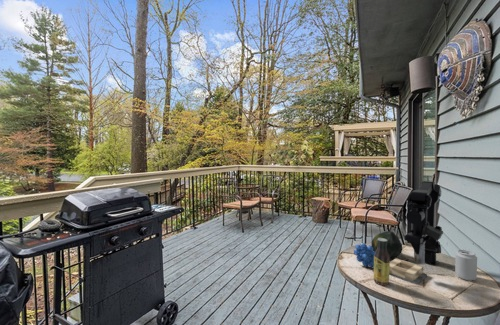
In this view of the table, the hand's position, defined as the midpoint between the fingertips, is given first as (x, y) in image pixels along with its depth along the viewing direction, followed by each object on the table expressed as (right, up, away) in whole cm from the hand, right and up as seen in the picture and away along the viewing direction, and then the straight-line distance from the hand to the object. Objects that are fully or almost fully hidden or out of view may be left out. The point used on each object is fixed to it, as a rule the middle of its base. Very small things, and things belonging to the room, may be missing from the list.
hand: (419, 252), depth 114 cm
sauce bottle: (-19, -13, -2) cm, 23 cm away
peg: (0, -4, 0) cm, 4 cm away
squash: (0, -11, +26) cm, 29 cm away
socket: (-4, -12, +5) cm, 13 cm away
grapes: (-19, -12, +12) cm, 26 cm away
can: (+22, -12, 0) cm, 25 cm away
